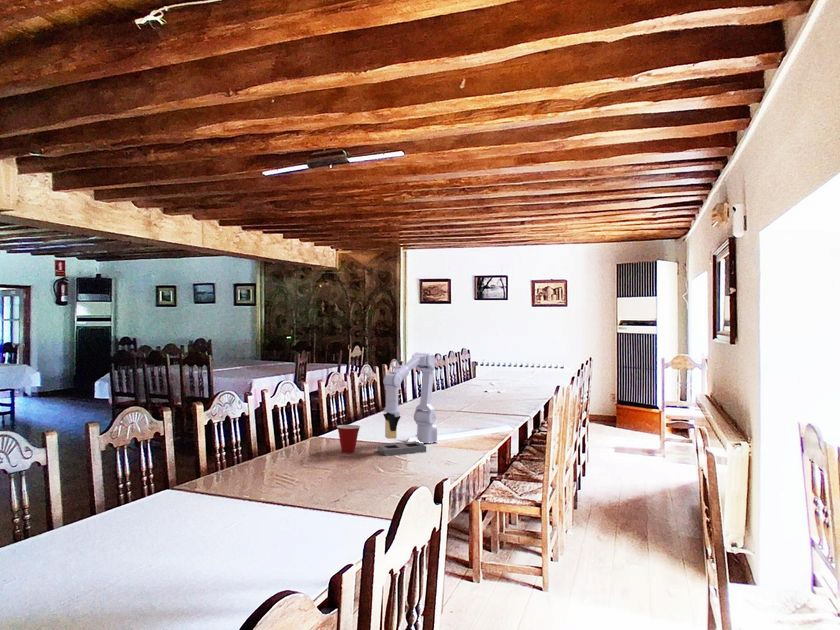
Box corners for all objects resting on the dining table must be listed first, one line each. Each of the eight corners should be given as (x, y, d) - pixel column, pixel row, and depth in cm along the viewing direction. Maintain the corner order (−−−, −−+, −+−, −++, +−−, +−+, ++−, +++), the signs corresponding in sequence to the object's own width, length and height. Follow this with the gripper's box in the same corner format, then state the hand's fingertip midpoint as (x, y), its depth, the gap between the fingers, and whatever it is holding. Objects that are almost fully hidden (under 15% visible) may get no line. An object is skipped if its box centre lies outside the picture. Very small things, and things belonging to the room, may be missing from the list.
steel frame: (417, 447, 256) (417, 441, 256) (426, 451, 247) (426, 446, 247) (377, 450, 248) (377, 445, 248) (384, 455, 239) (384, 450, 239)
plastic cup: (362, 449, 251) (362, 423, 251) (357, 455, 240) (357, 428, 240) (339, 448, 252) (339, 422, 252) (333, 454, 241) (333, 427, 241)
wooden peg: (393, 436, 249) (393, 418, 249) (396, 438, 245) (396, 420, 245) (385, 437, 247) (385, 419, 247) (388, 438, 243) (388, 421, 243)
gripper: (378, 398, 251) (378, 427, 251) (389, 402, 238) (388, 433, 238) (392, 397, 254) (392, 426, 254) (404, 402, 241) (403, 432, 241)
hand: (391, 430), depth 246 cm, fingers closed on wooden peg, 4 cm apart
